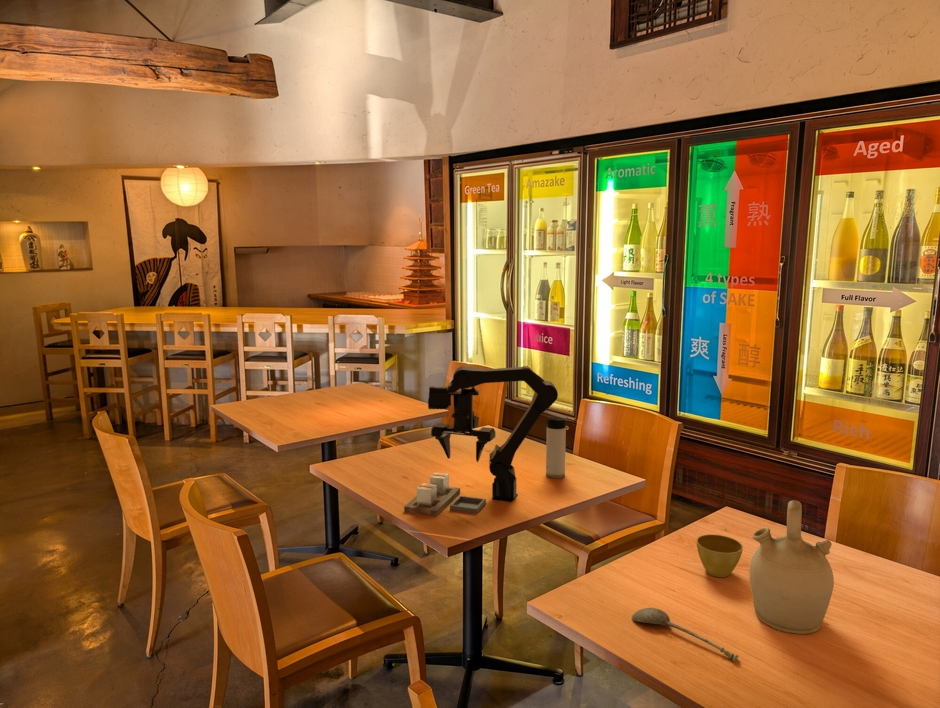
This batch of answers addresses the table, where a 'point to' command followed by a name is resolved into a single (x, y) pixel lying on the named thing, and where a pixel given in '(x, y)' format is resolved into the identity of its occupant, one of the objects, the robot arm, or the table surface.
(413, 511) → the grey flat frame
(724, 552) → the flower pot
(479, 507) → the grey tray
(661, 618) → the soupspoon
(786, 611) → the jug
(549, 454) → the travel mug
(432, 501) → the block
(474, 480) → the table surface
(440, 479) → the block
